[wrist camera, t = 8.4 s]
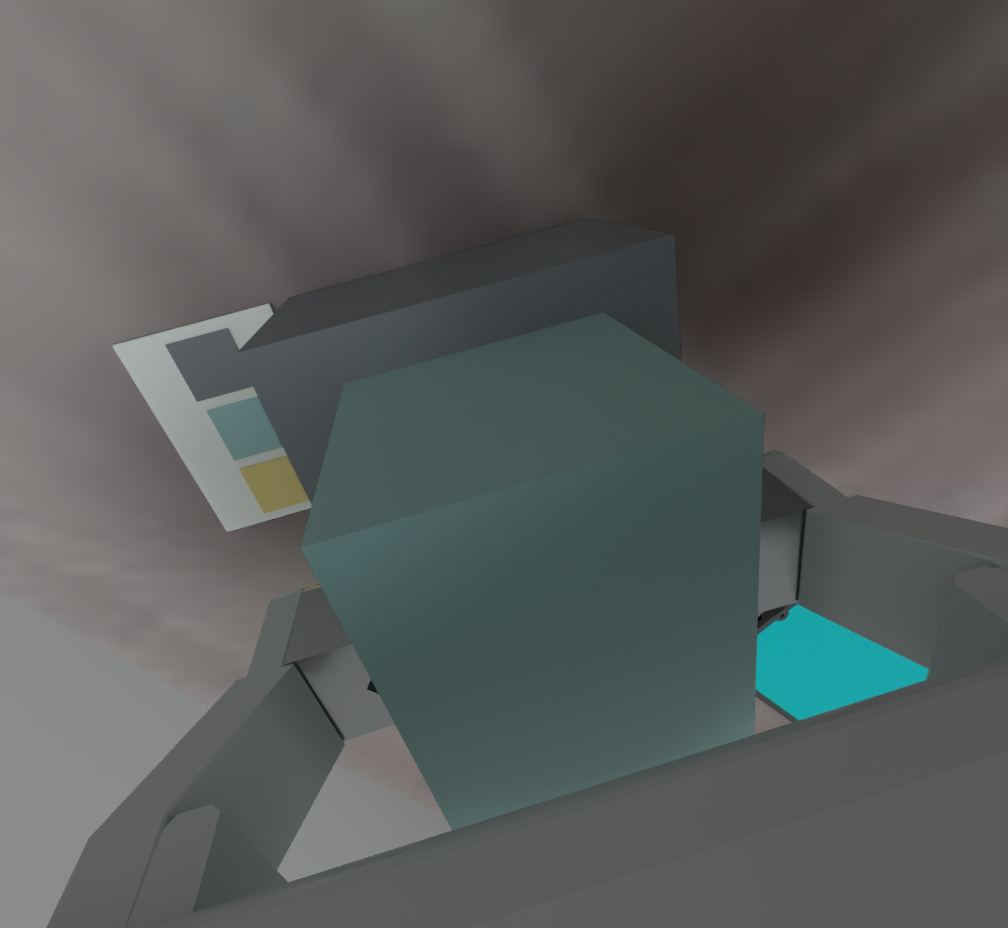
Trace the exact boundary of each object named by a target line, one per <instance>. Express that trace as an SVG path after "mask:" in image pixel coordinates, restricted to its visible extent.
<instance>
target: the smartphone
mask: <svg viewBox="0 0 1008 928" xmlns="http://www.w3.org/2000/svg"><path fill="white" fill-rule="evenodd" d="M761 617H762V619H761V621H759V622H758V624H757V657H756V689H755V696H756V697H757V698H759V699H760V700H762V701H763V702H765V703H766V704H767V705H769V706H770V707H772V708H773V709H774V710H776V711H777V712H779V713H780V714H781V715H783V716H784V717H786V718H787V719H788V720H790V721H791V722H796V721H799V720H802V719H806V718H809V717H812V716H815V715H818V714H821V713H824V712H827V711H831V710H834V709H837V708H840V707H843V706H846V705H849V704H853V703H856V702H859V701H862V700H865V699H868V698H871V697H875V696H878V695H881V694H884V693H887V692H890V691H893V690H896V689H900V688H903V687H906V686H909V685H912V684H915V683H918V682H922V681H925V680H926V676H927V672H928V669H927V668H925V667H923V666H921V665H919V664H917V663H915V662H913V661H911V660H909V659H907V658H905V657H903V656H901V655H899V654H897V653H895V652H893V651H891V650H889V649H887V648H885V647H883V646H881V645H878V644H876V643H874V642H872V641H870V640H868V639H866V638H864V637H862V636H860V635H858V634H856V633H854V632H852V631H850V630H848V629H846V628H844V627H842V626H840V625H838V624H836V623H834V622H832V621H830V620H828V619H826V618H824V617H822V616H820V615H818V614H816V613H814V612H812V611H810V610H808V609H806V608H804V607H802V606H800V605H798V602H796V603H793V604H789V605H786V606H782V607H778V608H775V609H771V610H768V611H765V612H763V613H762V614H761Z"/></svg>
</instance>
